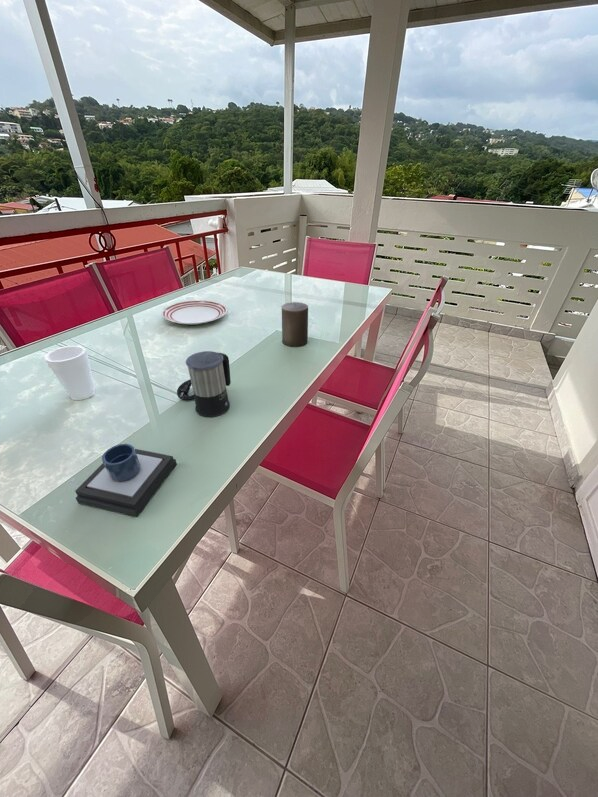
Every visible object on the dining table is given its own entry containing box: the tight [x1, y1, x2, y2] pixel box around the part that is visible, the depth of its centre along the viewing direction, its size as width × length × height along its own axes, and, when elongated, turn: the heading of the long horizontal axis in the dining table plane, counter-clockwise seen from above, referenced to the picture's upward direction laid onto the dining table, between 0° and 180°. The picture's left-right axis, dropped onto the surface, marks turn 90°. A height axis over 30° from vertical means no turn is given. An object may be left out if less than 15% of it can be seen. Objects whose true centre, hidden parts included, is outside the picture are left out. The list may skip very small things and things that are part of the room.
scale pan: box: [87, 454, 163, 499], centre depth 67 cm, size 10×10×1 cm
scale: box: [74, 448, 178, 518], centre depth 67 cm, size 14×13×3 cm
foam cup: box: [43, 345, 96, 401], centre depth 91 cm, size 10×9×13 cm
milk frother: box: [176, 350, 232, 418], centre depth 88 cm, size 14×16×15 cm
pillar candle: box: [280, 301, 309, 348], centre depth 121 cm, size 10×10×15 cm
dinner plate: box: [161, 299, 228, 326], centre depth 144 cm, size 27×27×3 cm
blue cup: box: [101, 443, 141, 481], centre depth 65 cm, size 6×6×5 cm
